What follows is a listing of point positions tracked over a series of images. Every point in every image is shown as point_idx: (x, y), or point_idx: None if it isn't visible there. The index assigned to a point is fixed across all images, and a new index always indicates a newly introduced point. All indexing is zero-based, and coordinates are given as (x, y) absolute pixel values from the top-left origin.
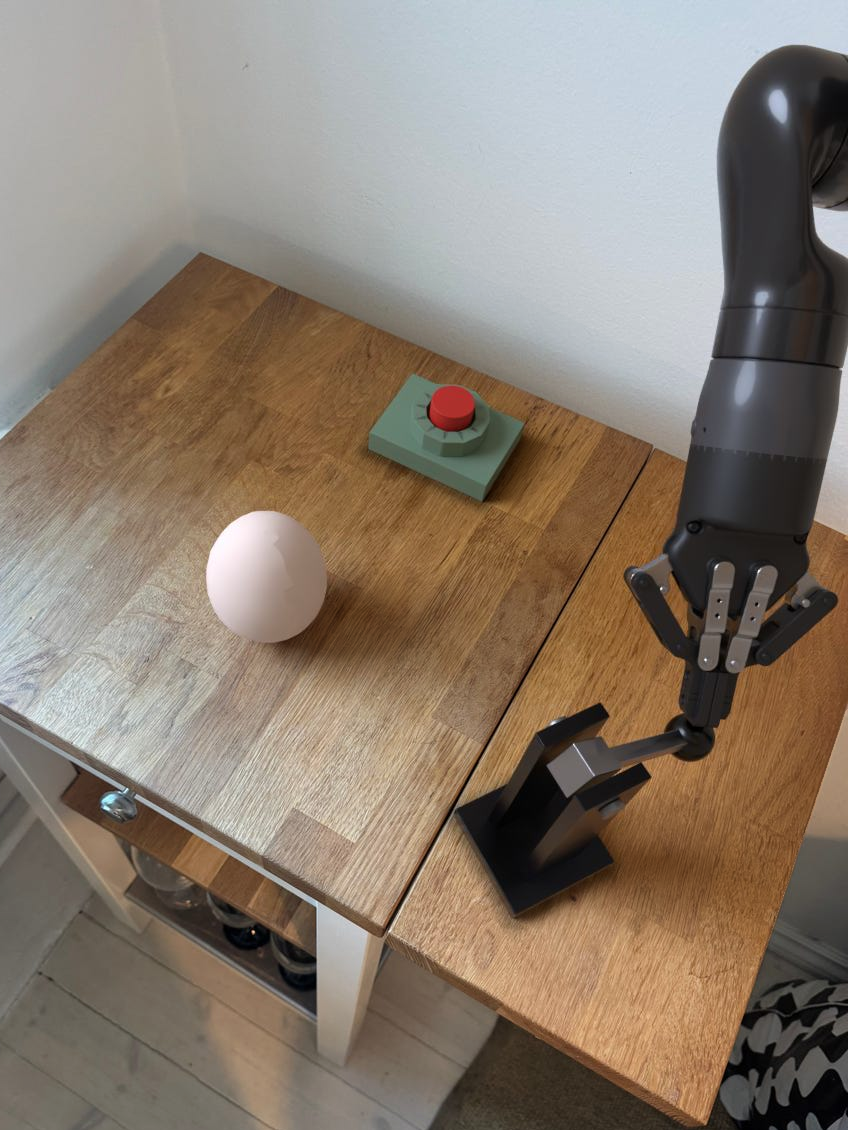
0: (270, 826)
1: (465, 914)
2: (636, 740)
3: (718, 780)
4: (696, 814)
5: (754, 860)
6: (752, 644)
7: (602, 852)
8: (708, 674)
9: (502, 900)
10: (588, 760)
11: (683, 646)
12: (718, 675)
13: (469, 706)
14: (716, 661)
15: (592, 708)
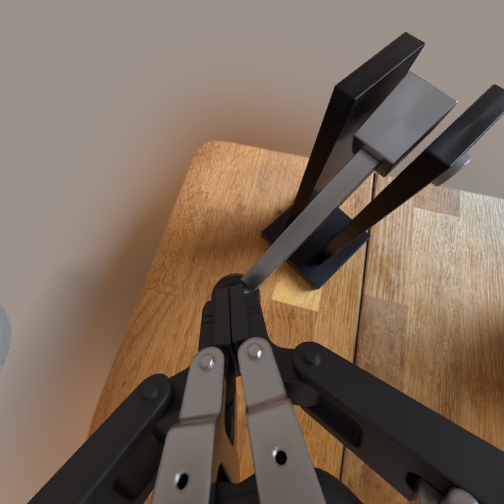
0: (465, 202)
1: None
2: (314, 229)
3: (192, 318)
4: (207, 287)
5: (168, 266)
6: (175, 418)
7: (270, 235)
8: (246, 335)
9: None
10: (423, 90)
11: (311, 359)
12: (230, 338)
13: (385, 323)
14: (240, 356)
15: (459, 152)
